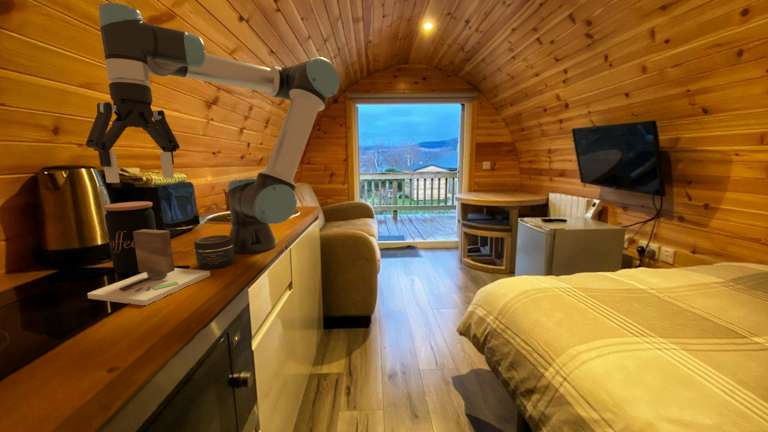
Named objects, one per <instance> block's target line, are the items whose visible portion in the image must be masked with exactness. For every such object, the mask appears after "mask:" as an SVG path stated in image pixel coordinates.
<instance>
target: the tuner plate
mask: <svg viewBox="0 0 768 432" xmlns="http://www.w3.org/2000/svg"><path fill="white" fill-rule="evenodd" d="M174 269H175V271H172V272H170V273H167V276H166V277H164V278H161V279H156V280H148V281H146V282H143V283H141V284H138V285H135V286H133V287H130V288H128V289H125V290H123V291H122V290H119V288H122V287H124V286H127V285H130V284H132V283H135V282H137V281H140V280H143V279H145V278H148V277H147V272H141V273H139V274H136V275H134V276H131V277H129V278H126V279H122V280H121V281H117V282H115V283H112V284H110V285H106V286H104V287H100V288H98V289H95V290H92V291H90V292H88V293H87V299H91V300H99V301H106V302H113V303H115V302H116V303H122V304H129V303H130V304H131V305H138V306H144V305H146V306H148V304H149V305H150V303H151V304H153V303H155V302H157V301H159V300H161V299H163V297H164V298H165V296H166V297H167V295H168V296H170V295H172V294H175V293H176V292H178V291H180V289H181V290H183V289H185V288H187V287H189V286H191V285H194V284H195V283H197V282H199V281H201V280H204V279H206V278H208V277H210V276H211V271H210V270H203V269H202V270H201V269H190V268H178V267H174ZM188 285H189V286H188ZM186 286H187V287H186ZM184 287H185V288H184ZM182 288H183V289H182ZM171 293H172V294H171ZM169 294H170V295H169ZM154 301H155V302H154ZM152 302H153V303H152Z"/></svg>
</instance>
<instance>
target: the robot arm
mask: <svg viewBox="0 0 768 432" xmlns="http://www.w3.org/2000/svg"><path fill="white" fill-rule="evenodd" d="M98 17H99V30H100V36H101V43H102V47H103V54H104V55H103V56H104V61H105V68H106V75H107V80H108V81H109V84H108V91H109V96H110V97H109V98H110V100H111V101H112V102H113V104H112V103H111V102H107V101H106V102H104V101H103V102H98V103H97V104H96V112H97V113H96V116H95V118H94V121H93V123H92V126H91V129H90V132H89V134H88V135H87V138H86V141H85V146H86V147H87V148H91V149H93V150H94V152H97V154H98V159H99V164H100V166H101V168H103V169H104V175H105V176H104V177H105V181H106V183H108V184H109V183H111V184H112V183H113V184H118V183H119V184H120V183H121V182H120V181H121V180H120V174H119V167H118V161H117V154H116V151H111V150H112V148H113V147H114V145H115V144H116V143H117V142H118V140H119V139H120V137H121V136H122V134H123V133H124V132H125V131H126V129H127V128H135V129H136V128H137V129H142V131H143V130H144V131H145V132H146V133H147V134H148V135H149V137H150V138H151V139H152V140H153V141H154V143H155V144H156V145H157V146H158V147H159V149H161V151H159V157H160V158H159V160H160V165H161V173H162V179H175V175H174V167H173V165H175V161H174V152H175V153H176V152H177V150H180V148H181V147H180V144H179V142H178V141H177V139H176V136H175V134H174V133H173V131H172V129H171V127H170V125H169V122H168V121H167V118H166V114H165V111H164V110H162V109H160V110H159V109H157V110H156V109H155V110H153V109H152V106H151V105H152V103H153V101H154V100H153V95H152V94H153V93H152V88H151V87H150V86H149V85H150V84H151V77H150V74H151V75H153V76H157V77H167V76H172V77H180V78H186V79H192V80H197V81H202V82H206V83H207V82H208V83H214V84H219V85H224V86H231V87H236V88H241V89H247V90H252V91H258V92H263V93H266V94H267V95H268V96H269V97H273V98H278V99H283V100H289V101H290V104H289V107H288V109H287V112H286V115H285V118H284V120H283V122H282V126H281V127H280V130H279V133H278V136H277V139H276V141H275V144H274V145H273V149H272V152H271V154H270V156H269V160H268V162H267V164H266V167H265V169H264V170H261V171H259V172H258V173H257V176H256V177H253V178H252V177H251V178H241V179H235V180H234V179H233V180H230V181H229V182H228V183H227V194H228V204H229V214H230V222H231V223H230V225H231V229H230V232H229V235H228V236H231V237H232V238H233V243H234V245H233V246H234V254H255V253H260V252H265V251H268V250H271V249H273V248H275V247H276V246H277V244H276V243H277V242H276V238H275V235H274V233H273V230H272V227H271V226H270V224H274V225H275V224H281V223H284V222H286V221H287V220H289V219H290V218H291V217H292V216H293V214H294V213H295V211H296V209H297V205H298V200H297V197H296V193H295V191H296V187H297V185H296V183H295V180H294V178H295V176H296V172H297V170H298V168H299V164H300V162H301V159H302V157H303V153H304V151H305V148H306V146H307V143H308V141H309V140H308V139H309V137H310V134H311V132H312V129H313V125H314V123H315V120H316V118H317V115H318V113H319V112H320V111H323V110H325V108H326V104H327V102H328V99H329V98H331V97H333V96H334V95H335V94H337V92H338V91H339V89H340V77H339V74H338V72H337V71H338V70H337V69H336V68H335V65H334V64H332V62H331V61H330V60H328V59H327V58H324V57H314V58H313V57H312V58H310V59H308V60H306V61H303V62H300V63H297V64H294V65H291V66H284V67H281V66H275V65H270V66H269V67H265V66H261V65H257V64H253V63H249V62H244V61H240V60H235V59H231V58H228V57H223V56H219V55H214V54H210V53H207V52H206V47H205V44H204V40H202V38H201V37H200V36H199V35H196V34H193V33H190V32H187V31H186V30H185V31H181V30H178V29H174V28H169V27H164V26H159V25H156V24H152V23H148V22H146V21H144V18H143V15H142V13H141V12H140V10H138V9H137V8H136V7H135V8H134V7H131V6H130V5H127V4H124V3H119V2H105V3H102V4H101V5H99V6H98ZM113 114H114V115H115V116H116V117H115V118H114V119H113V121H112V120H111V119H112V117H113ZM111 121H112V122H111ZM110 122H111V126H110ZM109 126H110V127H109ZM108 128H109V129H108Z"/></svg>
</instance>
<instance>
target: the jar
mask: <svg viewBox="0 0 768 432" xmlns="http://www.w3.org/2000/svg"><path fill="white" fill-rule="evenodd" d="M233 245H234V243H233V238H232V237H231V236H229V235H228V234H217V235H209V236H204V237H200V238H197V239H195V240H194V241H193V249H194V254H195V261H196V262H195V263H196V264H197V266H198V267H199V268H200V270H201V269H202V270H206V271H210V270H217V269H222V268H226V267H228V266H231V265H232V264H233V263H234V260H235V253H234V246H233Z"/></svg>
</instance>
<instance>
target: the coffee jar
mask: <svg viewBox="0 0 768 432" xmlns="http://www.w3.org/2000/svg"><path fill="white" fill-rule="evenodd" d="M152 207H153V202H152V201H128V202H117V203H110V204H104V205H103V211H105V212H106V213H105V214H104V220H105V225H106V232H107V239H108V243H109V249H110V257H111V261H112V267H113V269H114V270H115V271H116V272H117V273H120V274H134V273H140V272H139V269H138V262H137V256H136V249H135V242H134V236H133V232H134V231H138V230H142V229H146V230H157V226H156V225H157V224H156V220H155V219H156V218H155V211H154V210H153V209H152Z"/></svg>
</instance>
